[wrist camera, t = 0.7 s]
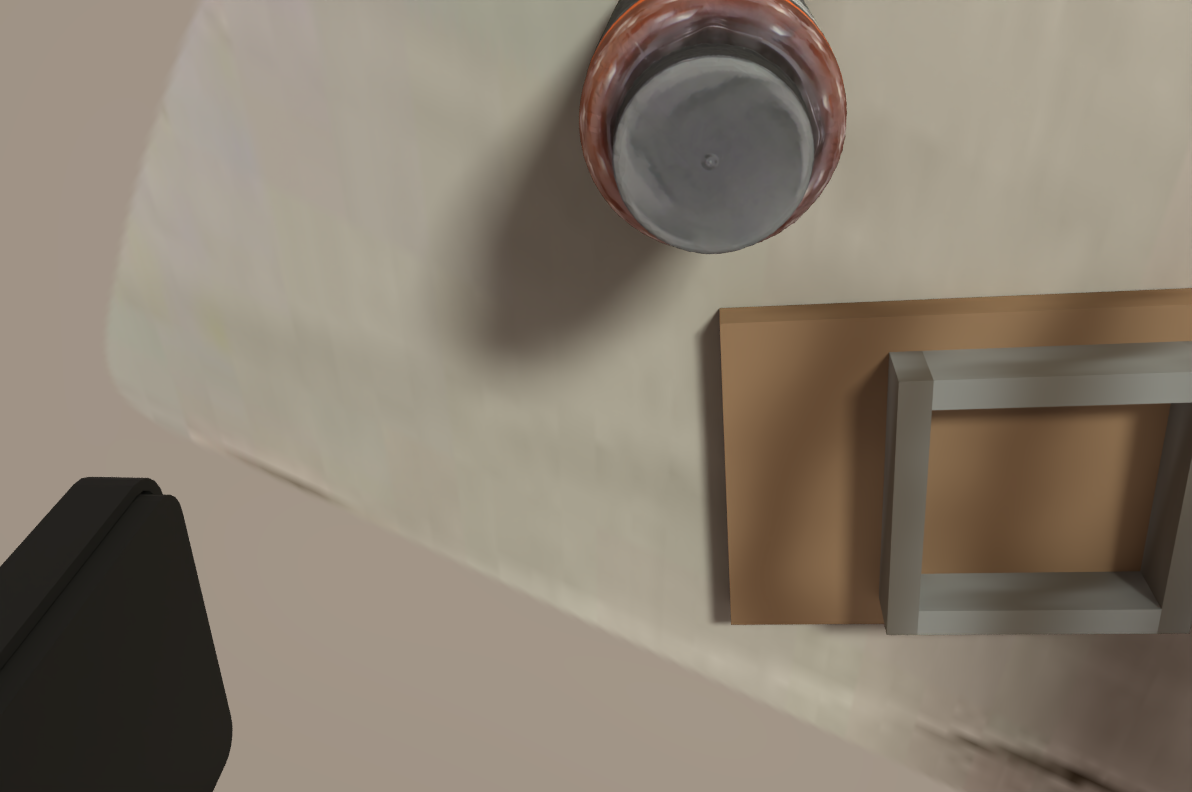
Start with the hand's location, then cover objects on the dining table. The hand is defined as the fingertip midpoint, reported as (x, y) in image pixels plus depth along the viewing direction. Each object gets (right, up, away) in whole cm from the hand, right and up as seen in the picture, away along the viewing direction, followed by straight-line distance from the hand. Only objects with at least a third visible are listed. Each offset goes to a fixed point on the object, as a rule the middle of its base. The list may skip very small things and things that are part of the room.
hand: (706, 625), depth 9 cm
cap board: (+13, 0, +27) cm, 30 cm away
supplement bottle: (+2, +12, +22) cm, 25 cm away
